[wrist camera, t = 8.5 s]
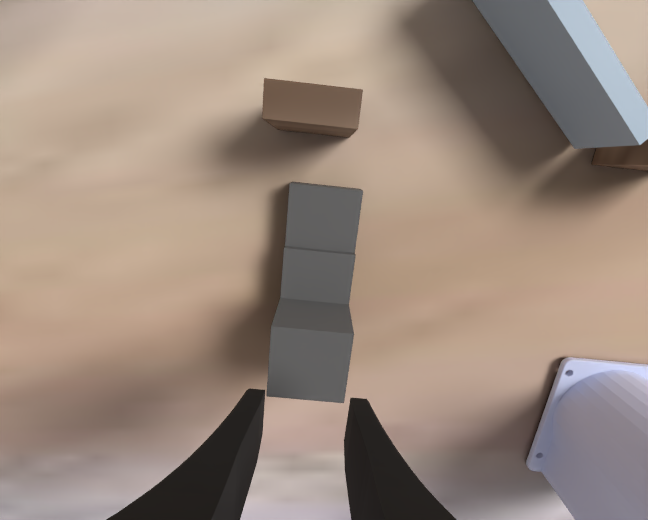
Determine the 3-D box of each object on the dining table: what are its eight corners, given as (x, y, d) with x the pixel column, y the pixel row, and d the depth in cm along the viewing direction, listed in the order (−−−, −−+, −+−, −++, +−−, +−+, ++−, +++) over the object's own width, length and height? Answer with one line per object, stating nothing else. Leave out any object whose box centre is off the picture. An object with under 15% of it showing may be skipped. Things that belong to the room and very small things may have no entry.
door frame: (658, 172, 19) (769, 175, 14) (277, 129, 19) (262, 118, 14) (668, 144, 19) (786, 138, 14) (279, 100, 18) (264, 78, 13)
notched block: (339, 346, 23) (343, 403, 17) (279, 341, 22) (266, 396, 17) (360, 188, 20) (373, 198, 14) (292, 181, 19) (280, 188, 14)
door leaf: (574, 148, 19) (639, 145, 15) (455, -25, 16) (495, -83, 12) (606, 122, 18) (682, 111, 14) (488, -60, 16) (541, -130, 12)
